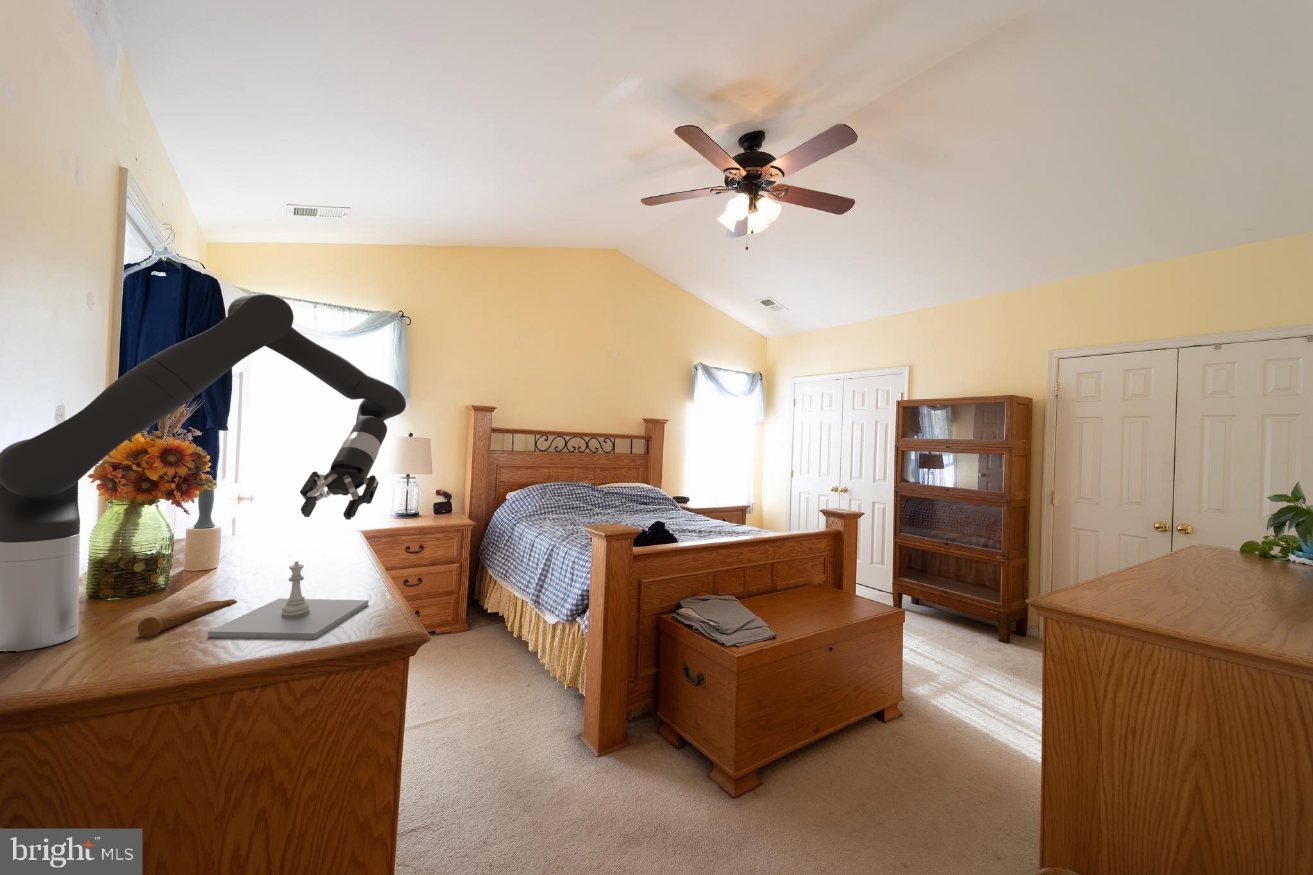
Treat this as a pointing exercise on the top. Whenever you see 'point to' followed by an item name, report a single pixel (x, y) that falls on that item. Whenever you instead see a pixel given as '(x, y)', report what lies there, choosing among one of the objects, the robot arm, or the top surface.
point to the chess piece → (295, 595)
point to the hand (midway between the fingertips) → (325, 516)
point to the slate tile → (289, 620)
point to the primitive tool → (179, 617)
